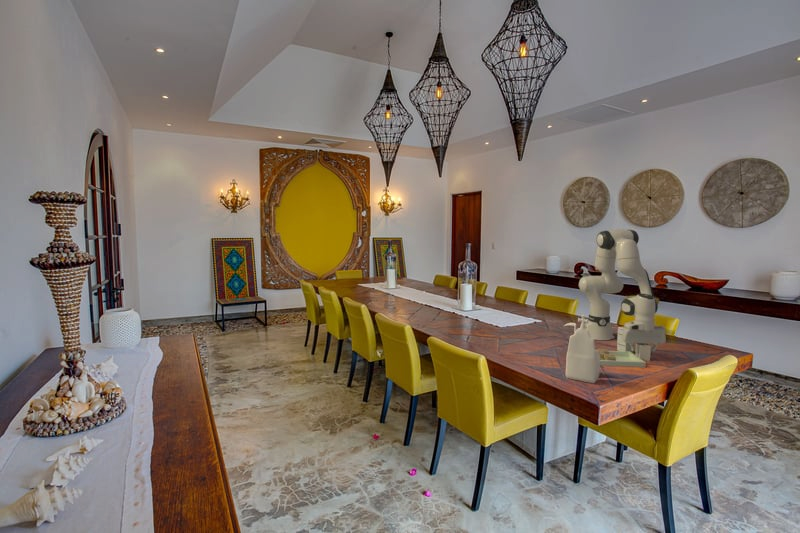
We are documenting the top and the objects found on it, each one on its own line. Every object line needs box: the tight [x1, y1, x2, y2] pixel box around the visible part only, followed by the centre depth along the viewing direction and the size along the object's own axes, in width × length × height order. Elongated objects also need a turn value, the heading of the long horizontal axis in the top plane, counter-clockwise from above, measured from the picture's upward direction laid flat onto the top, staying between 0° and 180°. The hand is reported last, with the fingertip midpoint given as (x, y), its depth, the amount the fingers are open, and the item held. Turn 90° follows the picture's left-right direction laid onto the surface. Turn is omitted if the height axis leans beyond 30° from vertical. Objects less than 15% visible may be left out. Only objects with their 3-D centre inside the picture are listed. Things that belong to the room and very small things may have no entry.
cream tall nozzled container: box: [563, 314, 601, 384], centre depth 184 cm, size 17×14×30 cm
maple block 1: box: [597, 348, 610, 354], centre depth 208 cm, size 4×4×4 cm
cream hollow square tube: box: [634, 343, 652, 362], centre depth 208 cm, size 5×5×8 cm
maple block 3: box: [604, 354, 616, 361], centre depth 199 cm, size 4×4×4 cm
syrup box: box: [616, 326, 635, 354], centre depth 217 cm, size 6×6×14 cm
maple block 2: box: [598, 351, 606, 360], centre depth 203 cm, size 4×4×4 cm
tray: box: [599, 350, 647, 368], centre depth 203 cm, size 17×22×4 cm
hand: (643, 351), depth 208 cm, fingers open, 8 cm apart
